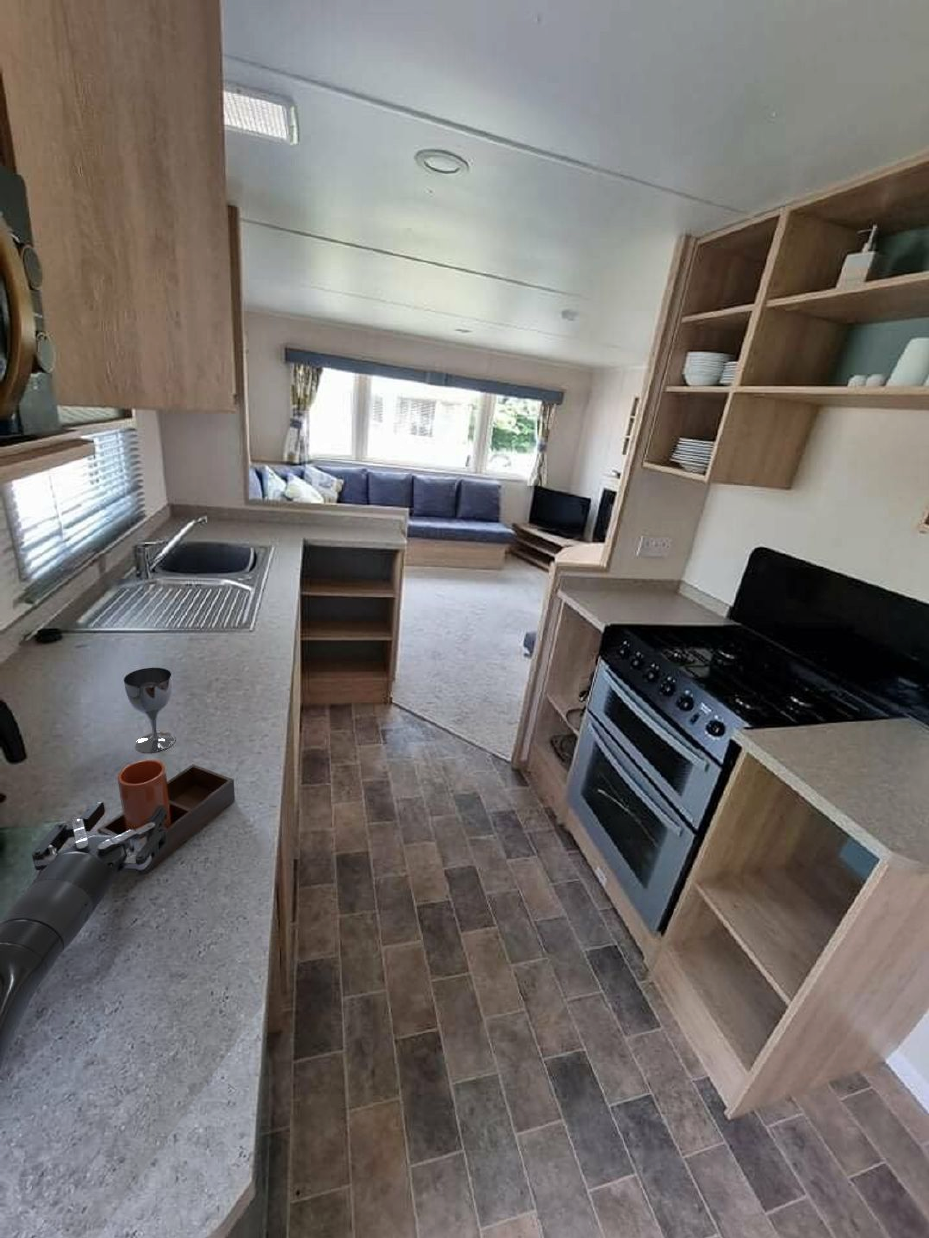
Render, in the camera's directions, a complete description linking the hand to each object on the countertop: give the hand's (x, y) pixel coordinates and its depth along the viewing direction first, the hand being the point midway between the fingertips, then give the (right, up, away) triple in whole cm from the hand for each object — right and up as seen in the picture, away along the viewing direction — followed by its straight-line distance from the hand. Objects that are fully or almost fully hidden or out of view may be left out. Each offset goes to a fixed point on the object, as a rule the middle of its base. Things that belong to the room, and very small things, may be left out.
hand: (132, 808), depth 75 cm
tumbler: (-1, -7, +6) cm, 10 cm away
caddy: (0, -6, +10) cm, 12 cm away
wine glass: (-14, +3, +29) cm, 33 cm away
